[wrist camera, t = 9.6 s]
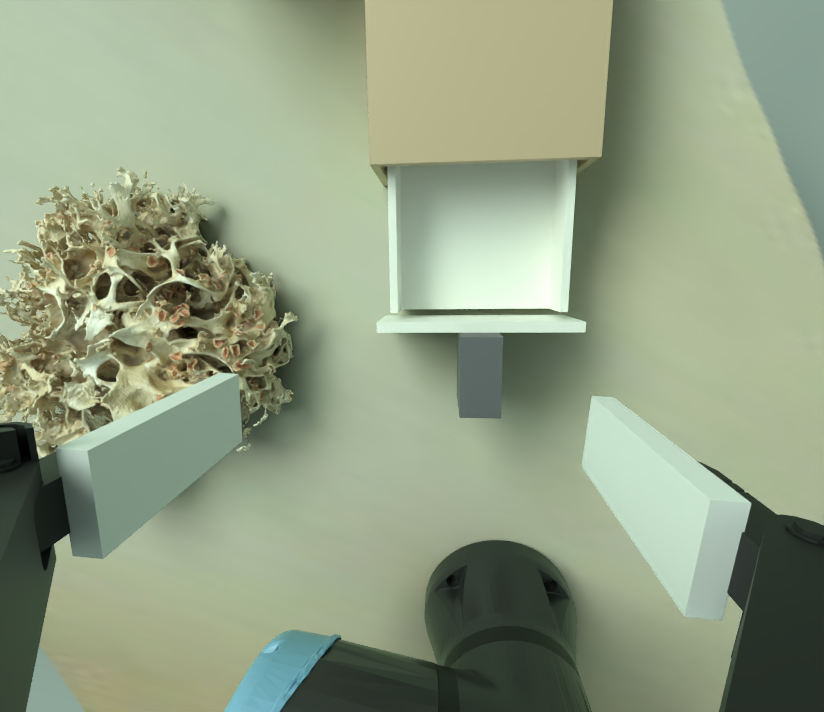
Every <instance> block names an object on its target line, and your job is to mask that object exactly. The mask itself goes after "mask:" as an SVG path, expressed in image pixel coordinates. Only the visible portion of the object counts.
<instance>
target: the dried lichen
mask: <svg viewBox="0 0 824 712" xmlns="http://www.w3.org/2000/svg"><path fill="white" fill-rule="evenodd" d="M137 154H139V153H137ZM117 171H119V172H118V174H117V176H116V177H118V176H119V177H120V176H123V177H124V178H125V185H124V186H121V185H120V184H119V182H115V183H112V182H111V183H110V187H109V191H110V193H111V195H112V197H113V198H111V199H107V200H108V203H109V204H108V205H107V202H106V203H104V204H103V203H102V201H103V195H102V194H100V192H103V190H102V189H100V188H99V190H98V192H96V191H93V193H94V194H95V196H96V198H97V199H96V198H94V197H90V196H88V194H87V193H85V192H84V191H83V195H82V197H84V198H85V199H84V198H82V199H84V200H77V199H76V198H74V197H73V196H72V195H71V193H70V191H69V187H68V186H65V187H64V188H65V189H61V188H59V187H57V186H55V187H52V188H50V189H49V190H48V191H51V192H53V196H52V197H50V196H49V198H47V197H40V198H39V200H38V201H37V202H35V203H36V204H40V205H43V203H45V202H53V203H55V204H54V206H56V211H55V212H53V213H48V214H47V213H45V214H44V217H45V218H44V221H43V220H40V221H37V220H36V221H35V226H36V228H38V235H37V237H38V240H39V244H40V245H41V248H39V247H36V246H34V245H31V244H29V243H27V242H24V241H22V240H21V241H19V242H18V243H17V244H18V245H24V246H26V247H29V248H32V249H34V250H35V251H32V250H30V251H29V250H27V249H26V248H23V247H21V248H22V249H18V250H14V249H8V250H4V251H3V252H4V253H11V252H12V254H14V253H17V254H18V255H19V258H18V259H17V260H16V261H12V260H9V261H11V262H13V263H17V264H21V266H20V267H21V268H22V273H19V276H20V278H19V280H13V279H9V278H8V277H5V278H6V280H9V281H10V282H11V283H12V286H11V287H12V289H11V290H4V289H1V288H0V292H1V293H2V294H0V306H3V307H4V308H5V309H6V310H7V312H3V313H2V312H0V314H6V315H8V316H9V317H10V318H11V320H13V321H18V322H19V325H21V326H26V325H28V326H29V327H30V328H29V330H28V331H27V332H24V333H21V337H20V338H23V339H13V340H12V341H10V340H8V339H7V338H5V336H3V335H1V334H0V350H1V351H0V371H2V372H3V373H0V410H1V409H4V413H5V414H0V423H6V422H10V421H12V417H14V416H15V415H16V412H17V413H21V412H25V413H24V414H23V415H22V416H21V418H22V417H23V416H24V415H25V416H24V417H23V418H22V419H23V420H22V421H21V422H26V421H27V417H28V416H30V417H31V415H35V416H36V417H35V419H34V420H32V422H33V423H30V424H32V425H33V428H34V427H41V428H40V431H41V432H39V431H35V433H34V435H35V440H36V446H37V452H38V453H39V455H40V456H41V457H45V456H47V455H49V454H51V453H54V450H55V448H57V447H58V446H61V445H63V444H66V443H68V442H70V441H72V440H74V439H76V438H79V437H81V436H83V435H85V434H87V433H89V432H92V431H94V430H96V429H98V428H100V427H103V426H105V425H107V424H109V423H111V422H113V421H116V420H118V419H120V418H122V417H124V416H126V415H129V414H131V413H133V412H135V411H137V410H140V409H142V408H144V407H146V406H148V405H150V404H153V403H155V402H157V401H159V400H161V399H163V398H166V397H168V396H170V395H172V394H174V393H176V392H179V391H181V390H183V389H185V388H187V387H190V386H192V385H194V384H196V383H198V382H200V381H203V380H205V379H207V378H209V377H211V376H213V375H216V374H218V373H231V374H239V390H240V408H241V426H242V427H245V425H244V424H242V421H243V420H245V424H246V423H247V422H248V421H249V417H250V414H252V413H254V412H255V411H256V410H258V409H259V408H260V406H261V405H262V406H263V407H264V408H265V413H264V416H263V417H262V418H261V421H258V422H257V424H254V425H253V426H257V425H258V424H261V423H262V422H263V420H266V419H267V417H268V415H269V414H266V411H267V409H268V410H270V411H271V412H274V413H276V414H277V415H278V414H279V413H280V412H281V409H280V408H281V404H282V403H289V402H290V401H291V400H292V398H291V397H290V395H291V394H293V392H292V391H291V390H290V389H289V390H286V389H285V388H283V387H282V385H281V379H280V378H276V376H275V375H274V374H273V373H275V372H276V370H275V369H276V368H278V367H280V366H283V365H286V364H287V363H289V361H290V360H289V359H290V358H292V357H293V355H292V352H291V351H292V349H293V346H292V345H293V344H292V342H291V335H290V334H288V333H287V332H286V331H285V330H283V329H284V326H285V325H286V324H287V323H289V322H292V321H298V318H297V315H296V316H294V314H292V313H291V312H289V313H288V314H286V313H285V317H284V321H283V322H282V324H281V326H280V327H279V326H278V325H279V322H280V320H282V318H280V319H279V321H278V322H277V321H274V320H273V319H274V318H275V319H277V318H276V311H275V309H274V303H275V302H274V301H275V300H274V299H276V290H275V284H273V285H272V287H270V284H271V281H272V280H273V279H272V275H273V273H271V274H270V275H269V276H268V277H267V278H266V275H264V276H258V275H263V274H262V273H260V272H259V271H258V273H257V272H256V273H252V272H251V271H250V270H248V269H247V268H246V267H247V265H246V264H244V262H245V261H246V259H244V258H242V257H241V259H236V258H232V257H231V256H232V254H229V253H228V254H229V255H227V254H226V255H224V256H223V254H224V252H226V250H227V249H226V246H225V245H224V244H223V249H222V248H221V247H220V248H219V247H218V245H217V243H218V241H216V245H215V246H214V244H212V245H211V248H209V250H207V248H206V247H205V246H206V245H207V244H205V243H208V242H207V241H206V240H204V239H203V237H202V235H201V234H200V230H199V222H201V221H200V220H206V221H208V219H207V218H205V217H203V215H201V214H200V212H199V211H198V206H199V205H202V204H208V205H210V206H211V205H214V204H215V203H216V201H214V200H211V199H206V198H205V197H202V196H201V195H194V193H195V191H196V189H195V188H193V190H192V194H191V195H190V194H189V192H188V190H187V187H186V185H185V183H184V187H185V188H184V187H181V186H178V188H179V191H177V193H176V194H173V195H172V194H171V195H170V197H168V195H167V194H165V196H160V194H161V193H159V192H158V193H157V192H156V194H155V193H153V192H151V189H152V188H153V187H154V186H153V185H155V184H156V182H150V183H149V182H144V185H143V189H140V188H138V187H137V186H136V185H137V184H138V181H139V179H138V178H137V176H136V175H135V173H134V172H130V171H127V173H126V172H125V171H124V168H122V167H120V168H117ZM144 177H145V178H147V172H146V170H145V172H144ZM90 185H91V186H92V187H94V183H93V182H92V184H90ZM80 188H81V189H83V188H82V187H81V186H80ZM156 188H158V187H156ZM158 189H159V188H158ZM168 190H169V191H170V189H168ZM185 190H186V194H187V196H188V198H187V197H184V196H183V193H184V191H185ZM135 191H136V192H137V193H135ZM131 192H132V193H133V194H131ZM170 192H171V191H170ZM180 192H181V195H179V193H180ZM144 196H145V197H144ZM92 201H93V202H92ZM146 202H147V203H148V204H149V205H148V206H147V204H146ZM145 206H146V207H145ZM171 208H172V209H174V210H176V211H175V213H172V212H171ZM65 210H66V212H65ZM88 232H89V233H91V234H93V236H92V237H93V239H92V240H91V239H90V238H89V236H88ZM81 236H82V237H81ZM84 239H85V240H87V241H88V240H89V241H90V242H87V241H85V240H84ZM203 242H204V243H203ZM204 245H205V246H204ZM217 248H218V249H217ZM35 258H37V259H38V260H40V262H41V263H39V262H37V261H35ZM235 259H236V260H235ZM22 261H23V262H22ZM23 263H25V264H26V265H27V266H25V267H24V265H23ZM28 266H29V267H30V268H31V269H32V271H33V272H34V273H33V274H34V275H35V278H30V277H29V276H28V274H29V273H31V271H30V269H29V268H28ZM39 269H41V270H39ZM30 281H31V282H32V283H31V282H30ZM23 282H25V284H24V286H23V287H22V288H21V284H22V283H23ZM6 298H11V299H10V302H4V299H6ZM14 298H17V299H18V302H17V303H16V304H15V305H16V308H11V307H10V306H9V305H10V303H12V304H14V303H13V302H12V300H13V299H14ZM19 304H20V305H19ZM25 309H29V310H28V311H27V310H25ZM37 309H38V310H39V311H41V312H42V313H44V314H43V315H36V311H37ZM293 316H294V317H293ZM13 317H14V318H13ZM42 318H45V320H44V319H43V320H41V319H42ZM25 321H27V322H25ZM28 322H29V323H28ZM3 341H5V343H6V345H7V347H6V346H5V345H4V344H3ZM14 344H15V345H14ZM278 346H279V349H278V352H277V353H275V354H274V353H273V352H274V350H275V349H276V348H277V347H278ZM284 348H286V352H283V349H284ZM278 362H282V364H280V363H278ZM9 392H10V393H11V394H7V393H9ZM283 397H285V398H284V399H283ZM272 398H273V399H274V400H273V401H271V400H272ZM256 402H257V403H258V404H257V405H256V406H255V407H253V406H254V404H255V403H256ZM55 406H58V407H59V408H62V409H64V410H65V411H59V412H63V414H55ZM248 406H249V407H248ZM249 408H250V409H249ZM45 410H47V413H46V411H45ZM44 416H45V417H44ZM54 417H57V419H54V420H53V421H52V420H51V419H52V418H54ZM26 423H27V422H26ZM251 429H252V427H251V428H246V429H244V432H242V437H246V439H247V436H246V434H250V433H251V431H250V430H251ZM53 445H56V446H55V447H53V448H52V447H51V446H53ZM243 448H245V449H243ZM250 448H251V445H250V443H249V441H248V446H242V447H241V448H238V449H237V450H236V451H237V452H239V453H240V452H246V451H248V449H250ZM242 449H243V450H242Z"/></svg>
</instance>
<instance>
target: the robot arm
mask: <svg viewBox="0 0 824 712" xmlns="http://www.w3.org/2000/svg"><path fill="white" fill-rule="evenodd" d="M241 442H242V426H241V408H240V390H239V374H231V373H218V374H216V375H213V376H211V377H209V378H207V379H205V380H203V381H200V382H198V383H196V384H194V385H192V386H190V387H187V388H185V389H183V390H181V391H179V392H176V393H174V394H172V395H170V396H168V397H166V398H163V399H161V400H159V401H157V402H155V403H153V404H150V405H148V406H146V407H144V408H142V409H140V410H137V411H135V412H133V413H131V414H129V415H126V416H124V417H122V418H120V419H118V420H116V421H113V422H111V423H109V424H107V425H105V426H103V427H100V428H98V429H96V430H94V431H92V432H89V433H87V434H85V435H83V436H81V437H79V438H76V439H74V440H72V441H70V442H68V443H66V444H63V445H61V446H59V447H57V448H55V451H56V452H54V453H51V454H49V455H47V456H45V457H43V458H41V459H39V458H38V452H37V446H36V440H35V435H34V429H33V425H32V424H30V423H26V422H9V423H0V712H26V706H27V702H28V697H29V692H30V687H31V682H32V677H33V672H34V667H35V662H36V657H37V652H38V647H39V642H40V637H41V632H42V627H43V622H44V617H45V612H46V607H47V602H48V597H49V592H50V587H51V582H52V577H53V572H54V567H55V562H56V555H55V549H54V543H56V542H57V541H59V540H60V539H62V538H63V537H64V536H66V535H67V534H69V536H70V542H71V548H72V554H73V556H79V557H89V558H99V559H104V558H105V557H106V556H107V555H108V554H110V553H111V552H112V551H113V550H114V549H115V548H117V547H118V546H119V545H120V544H121V543H123V542H124V541H125V540H126V539H127V538H128V537H130V536H131V535H132V534H133V533H134V532H136V531H137V530H138V529H139V528H140V527H141V526H143V525H144V524H145V523H146V522H147V521H148V520H150V519H151V518H152V517H153V516H154V515H156V514H157V513H158V512H159V511H160V510H161V509H163V508H164V507H165V506H166V505H167V504H169V503H170V502H171V501H172V500H173V499H174V498H176V497H177V496H178V495H179V494H180V493H182V492H183V491H184V490H185V489H186V488H187V487H189V486H190V485H191V484H192V483H193V482H195V481H196V480H197V479H198V478H199V477H200V476H202V475H203V474H204V473H205V472H206V471H208V470H209V469H210V468H211V467H212V466H213V465H215V464H216V463H217V462H218V461H219V460H221V459H222V458H223V457H224V456H225V455H226V454H228V453H229V452H230V451H231V450H232V449H234V448H235V447H236V446H237V445H238V444H239V443H241ZM582 468H583V469H584V471H585V472H586V474H587V475H588V477H589V478H590V479H591V481H592V482H593V484H594V485H595V487H596V488H597V490H598V491H599V493H600V494H601V495H602V497H603V498H604V500H605V501H606V503H607V504H608V506H609V507H610V509H611V510H612V512H613V513H614V514H615V516H616V517H617V519H618V520H619V522H620V523H621V525H622V526H623V528H624V529H625V531H626V532H627V533H628V535H629V536H630V538H631V539H632V541H633V542H634V544H635V545H636V547H637V548H638V550H639V551H640V552H641V554H642V555H643V557H644V558H645V560H646V561H647V563H648V564H649V566H650V567H651V568H652V570H653V571H654V573H655V574H656V576H657V577H658V579H659V580H660V582H661V583H662V585H663V586H664V587H665V589H666V590H667V592H668V593H669V595H670V596H671V598H672V599H673V601H674V602H675V604H676V605H677V606H678V608H679V609H680V611H681V612H682V614H683V615H684V617H693V618H703V619H713V620H723V616H724V612H725V608H726V604H727V600H728V596H730V597H731V598H732V599H733V600H734V601H735V602H736V604H737V605H738V606H739V607H740V608H741V609H742V611H743V613H742V617H741V621H740V625H739V628H738V632H737V636H736V640H735V644H734V648H733V651H732V655H731V658H732V659H731V663H730V667H729V671H728V676H727V680H726V684H725V689H724V693H723V697H722V701H721V706H720V710H719V712H824V526H823V525H821V524H819V523H816V522H813V521H810V520H806V519H803V518H799V517H795V516H788V515H777V514H775V513H774V512H773V511H771V510H770V509H769V508H767V507H766V506H765V505H763V504H762V503H761V502H759V501H758V500H757V499H755V498H754V497H753V496H751V495H750V494H749V493H745V492H744V490H743V489H742V488H740V487H739V486H738V485H736V484H734V483H732V481H731V480H730V479H728V478H727V477H726V476H724V475H723V474H722V473H720V472H719V471H717V470H715V469H713V468H711V467H709V466H707V465H705V464H703V463H701V462H699V461H696V460H695V459H693V458H692V457H691V456H689V455H688V454H687V453H686V452H684V451H683V450H682V449H680V448H679V447H678V446H676V445H675V444H674V443H673V442H671V441H670V440H669V439H667V438H666V437H665V436H663V435H662V434H661V433H659V432H658V431H657V430H656V429H654V428H653V427H652V426H650V425H649V424H648V423H646V422H645V421H644V420H643V419H641V418H640V417H639V416H637V415H636V414H635V413H633V412H632V411H631V410H630V409H628V408H627V407H626V406H624V405H623V404H622V403H620V402H619V401H618V400H617V399H615V398H614V397H600V396H592V397H591V404H590V411H589V418H588V425H587V432H586V439H585V446H584V453H583V460H582ZM425 623H426V629H427V633H428V636H429V639H430V642H431V645H432V648H433V651H434V654H435V658H436V661H437V664H435V663H432V662H428V661H424V660H420V659H416V658H412V657H408V656H404V655H400V654H396V653H392V652H388V651H384V650H380V649H376V648H372V647H368V646H364V645H360V644H356V643H352V642H348V641H344V640H341V636H340V635H335V634H334V635H332V636H326V635H321V634H315V633H310V632H305V631H299V630H291V631H286V632H284V633H282V634H280V635H278V636H277V637H275V638H274V639H273V640H272V641H271V642H270V643H269V644H268V645H267V646H265V648H264V649H263V650H262V651H261V653H260V654H259V655H258V657H257V658H256V659H255V661H254V662H253V664H252V665H251V667H250V668H249V670H248V671H247V673H246V674H245V676H244V678H243V679H242V681H241V682H240V684H239V686H238V688H237V689H236V691H235V693H234V695H233V696H232V698H231V700H230V702H229V703H228V705H227V707H226V709H225V711H224V712H592V711H591V708H590V705H589V702H588V699H587V697H586V694H585V691H584V688H583V685H582V682H581V680H580V677H579V674H578V671H577V668H576V613H575V607H574V603H573V600H572V597H571V595H570V592H569V590H568V587H567V585H566V582H565V580H564V578H563V576H562V575H561V573H560V572H559V570H558V569H557V568H556V567H555V565H554V564H553V563H552V562H551V561H550V560H548V559H547V558H546V557H545V556H543V555H542V554H540V553H539V552H537V551H535V550H533V549H531V548H529V547H527V546H524V545H521V544H518V543H514V542H509V541H494V540H493V541H482V542H477V543H473V544H470V545H467V546H465V547H462V548H460V549H458V550H456V551H455V552H453V553H452V554H450V555H449V556H448V557H446V558H445V559H444V560H443V561H442V562H441V563H440V564H439V565H438V566H437V568H436V569H435V571H434V572H433V574H432V576H431V578H430V580H429V583H428V586H427V590H426V599H425Z"/></svg>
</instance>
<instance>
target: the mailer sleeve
mask: <svg viewBox="0 0 824 712" xmlns="http://www.w3.org/2000/svg"><path fill="white" fill-rule="evenodd" d="M612 9H613V0H365V25H366V58H367V92H368V125H369V159H370V166H371V167H372V169H373V170H374V172H375V173H376V175H377V176H378V178H379V179H380V181H381V182H382V184H383V185H384V186H388V173H387V166H409V165H438V164H468V163H497V162H526V161H555V160H577V174H576V176H577V175H578V174H579V173H581V172H582V171H583V170H585V169H586V168H587V167H589V166H590V165H591V164H593V163H594V162H595V161H596V160H598V159H599V158H600V157H602V145H603V132H604V118H605V104H606V91H607V77H608V64H609V50H610V36H611V23H612Z"/></svg>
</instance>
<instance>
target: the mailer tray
mask: <svg viewBox="0 0 824 712" xmlns="http://www.w3.org/2000/svg"><path fill="white" fill-rule="evenodd" d="M387 173H388V219H389V264H390V309H391V313H398V312H400V311H401V310H402V309H552V310H555V311H558V312H568V301H569V285H570V269H571V253H572V237H573V222H574V206H575V190H576V174H577V160H555V161H526V162H497V163H468V164H438V165H409V166H387ZM585 331H586V322H585V321H582V320H579V319H576V318H572V317H569V316H566V315H387V316H385V317H384V318H382V319H381V320H380V321H378V322H377V333H458V351H457V398H458V407H459V417H460V418H501V397H502V366H503V336H502V335H501V334H500V333H559V332H585Z"/></svg>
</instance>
